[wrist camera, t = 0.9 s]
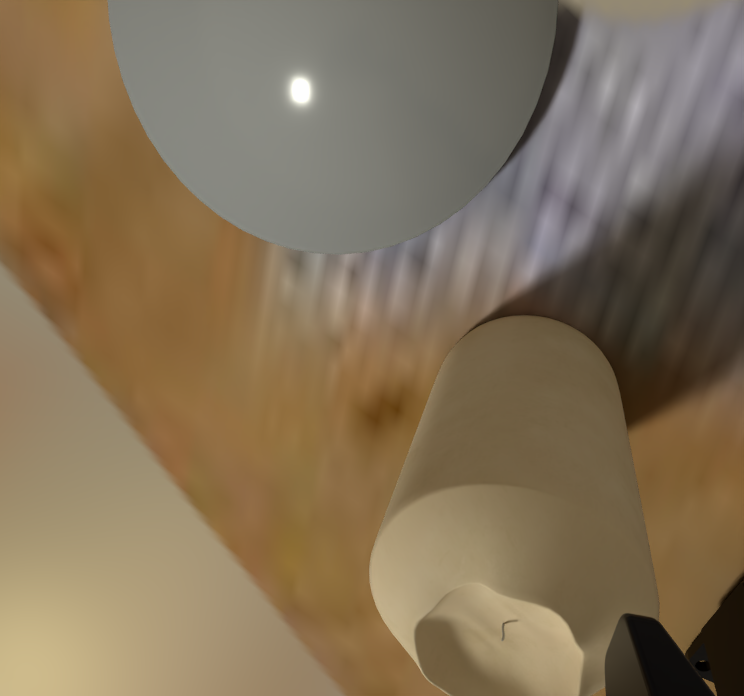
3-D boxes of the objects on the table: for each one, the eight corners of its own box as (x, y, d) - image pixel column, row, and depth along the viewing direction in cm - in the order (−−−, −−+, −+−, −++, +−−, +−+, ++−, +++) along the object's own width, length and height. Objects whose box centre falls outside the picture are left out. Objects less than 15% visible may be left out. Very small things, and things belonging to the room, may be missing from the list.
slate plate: (651, -184, 14) (656, -197, 13) (456, 304, 19) (453, 313, 18) (152, -332, 15) (132, -351, 14) (105, 168, 20) (90, 172, 20)
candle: (526, 274, 18) (497, 476, 10) (659, 400, 19) (751, 702, 10) (403, 389, 21) (291, 630, 12) (523, 497, 21) (501, 804, 13)
